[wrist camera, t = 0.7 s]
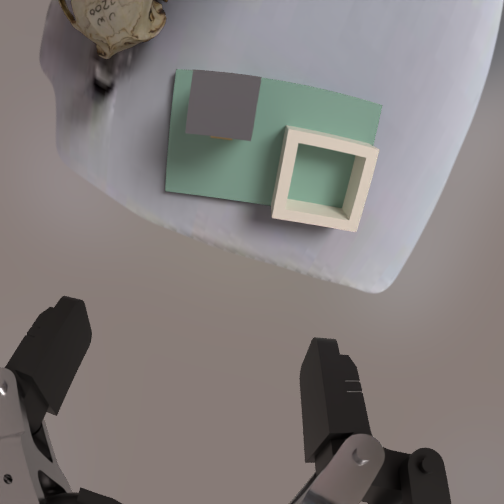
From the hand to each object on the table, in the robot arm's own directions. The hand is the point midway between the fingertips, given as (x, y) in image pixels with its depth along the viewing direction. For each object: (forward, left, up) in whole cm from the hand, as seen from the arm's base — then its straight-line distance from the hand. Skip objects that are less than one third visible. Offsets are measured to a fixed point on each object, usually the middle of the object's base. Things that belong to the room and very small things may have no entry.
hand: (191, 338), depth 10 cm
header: (-1, +8, -21) cm, 23 cm away
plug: (-7, -1, -21) cm, 22 cm away
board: (-3, +3, -22) cm, 23 cm away
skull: (-18, -13, -23) cm, 32 cm away
